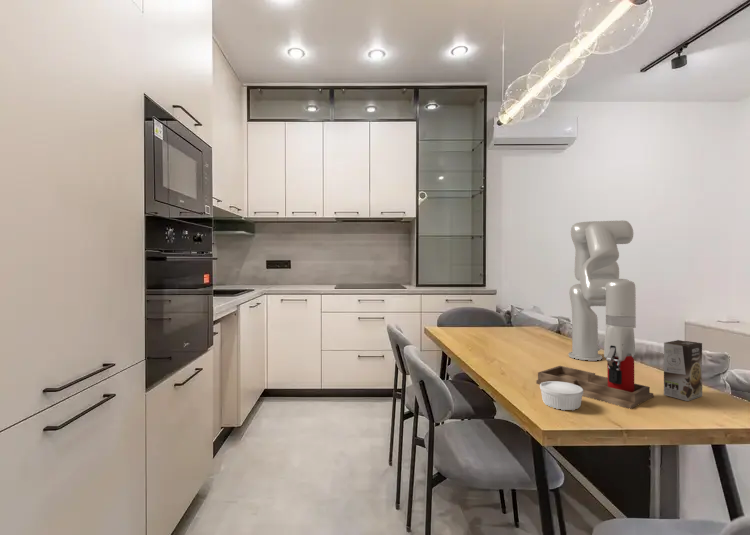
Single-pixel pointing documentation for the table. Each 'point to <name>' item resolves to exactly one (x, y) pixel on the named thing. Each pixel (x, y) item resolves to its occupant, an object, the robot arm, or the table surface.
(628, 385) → the beverage can
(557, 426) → the table surface
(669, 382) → the coffee box
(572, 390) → the ramekin
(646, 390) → the brown wooden tray
